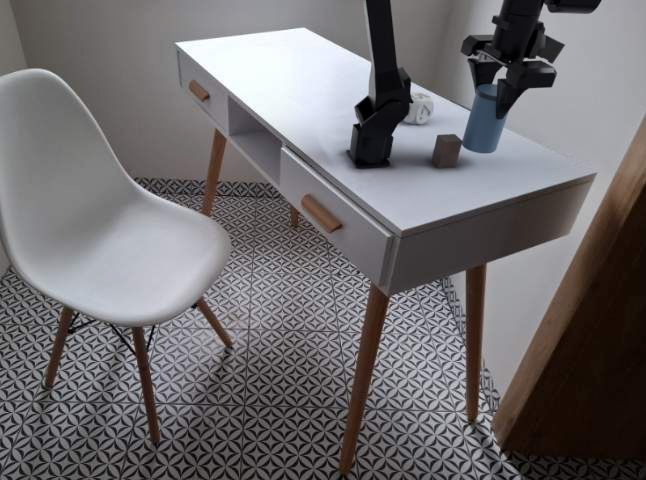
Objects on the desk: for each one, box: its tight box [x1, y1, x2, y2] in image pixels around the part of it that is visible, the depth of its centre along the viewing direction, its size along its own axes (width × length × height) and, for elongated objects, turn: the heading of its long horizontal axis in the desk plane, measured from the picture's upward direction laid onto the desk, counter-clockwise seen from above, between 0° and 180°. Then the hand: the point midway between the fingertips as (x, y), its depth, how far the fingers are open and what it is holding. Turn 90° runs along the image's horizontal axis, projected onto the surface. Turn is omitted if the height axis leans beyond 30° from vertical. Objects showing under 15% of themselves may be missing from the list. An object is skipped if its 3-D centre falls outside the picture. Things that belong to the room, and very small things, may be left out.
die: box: [402, 91, 435, 126], centre depth 107 cm, size 5×5×5 cm
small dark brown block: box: [431, 133, 463, 169], centre depth 91 cm, size 3×3×5 cm
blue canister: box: [461, 83, 510, 154], centre depth 89 cm, size 11×6×11 cm
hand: (489, 111), depth 88 cm, fingers closed on blue canister, 6 cm apart
